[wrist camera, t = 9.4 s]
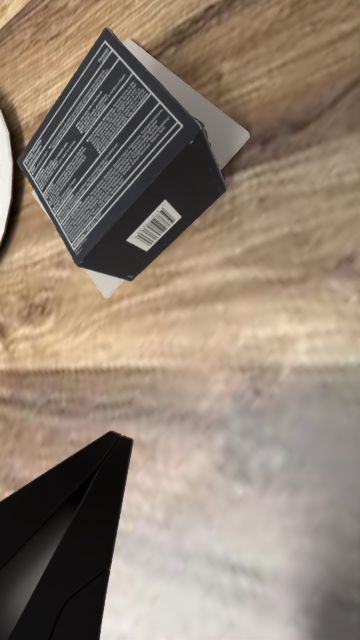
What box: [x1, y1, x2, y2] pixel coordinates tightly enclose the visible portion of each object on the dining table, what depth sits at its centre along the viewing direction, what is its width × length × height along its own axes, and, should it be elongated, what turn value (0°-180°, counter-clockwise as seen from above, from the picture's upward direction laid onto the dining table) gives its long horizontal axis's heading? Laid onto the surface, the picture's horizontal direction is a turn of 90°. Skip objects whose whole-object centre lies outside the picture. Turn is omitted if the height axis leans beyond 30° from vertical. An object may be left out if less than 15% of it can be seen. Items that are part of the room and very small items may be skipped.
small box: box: [17, 28, 227, 281], centre depth 17 cm, size 11×6×10 cm
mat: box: [32, 38, 250, 299], centre depth 22 cm, size 16×17×1 cm
